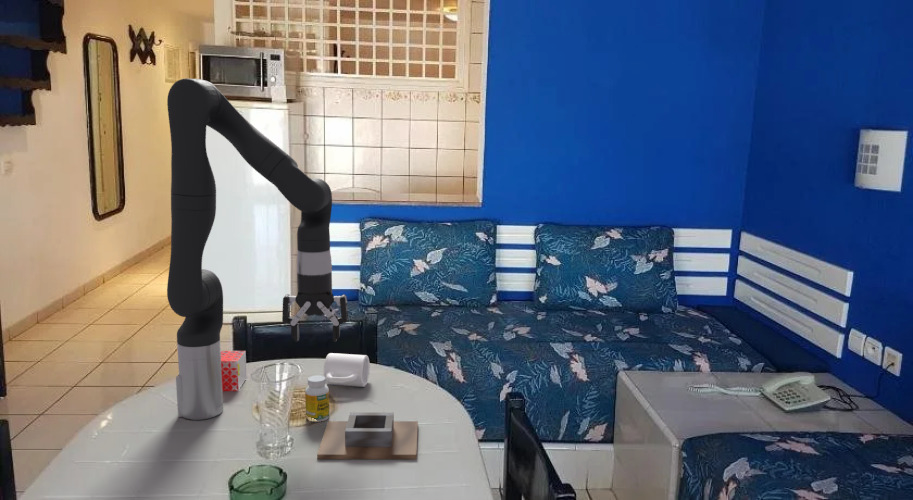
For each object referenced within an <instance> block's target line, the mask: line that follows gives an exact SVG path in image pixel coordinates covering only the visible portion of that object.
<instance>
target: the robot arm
mask: <svg viewBox="0 0 913 500" xmlns="http://www.w3.org/2000/svg"><path fill="white" fill-rule="evenodd" d="M166 101H167V103H166V105H167V114H168V123H169V133H170V143H171V153H170V154H171V155H170V156H171V158H170V159H171V160H170V165H171V166H170V168H171V170H170V172H171V175H170V176H171V177H170V179H171V183H170V212H171V213H170V214H171V225H170V226H171V227H170V228H171V230H170V259H169V269H168V277H167V285H166V290H167V291H166V295H167V296H166V297H167V301H168V303H169V306H170V308H171V310H172V311H173V312H174V313H175V314H176V315H178V316H179V317H182V318H184V320H183V322H182V324H181V325H180V327H179V328H178V329H177V332H176V344H177V345H176V348H177V362H178V363H177V364H178V375H177V376H176V377H175V386H176V387H175V389H176V401H177V404H176V406H177V417H178V418H184V419H186V420H187V419H188V420H194V421H195V420H199V421H201V420H207V419H211V418H214V417H217V416H219V415H220V414H222V412H223V411H224V397H223V396H224V395H223V392H224V391H222V369H221V351H222V350H221V349H222V348H221V330H222V328H223V324H224V292H223V286H222V282H221V281H220V279H219V277H218V276H217V275H216V273H214V272H213V271H211V270H208V269H206V268H205V269H204V268H203V266H202V265H203V257H204V256H203V255H204V250H205V247H206V244H207V241H208V239H209V236H210V234H211V231H212V228H213V226H214V223H215V218H216V214H217V213H216V212H217V185H216V180H215V176H214V173H213V169H212V166H211V164H210V160H209V157H208V151H207V126H208V128H210V129H212V130H214V131H215V132H217V133H219V135H221V136H222V137H224V138H225V139H226V140H227V141H228V142H229V143H230V144H231V146H233V147H234V148H235V150H236V151H237V152H238V153H239V154H240V156H241V157H242V158H243V160H245V162H246V163H247V164H248V165H249V166H250V167H251V168H253V169H254V170H255V172H257V173H258V174H259V175H261V176H262V177H263V178H264V179H265V180H267V181H268V182H269V183H271V184H272V185H274V187H276V188H277V189H278V191H279V193H280V194H282V195H283V197H284V198H285V200H287V201H288V202H289V203H290V204H291V206H293V207H294V208H296V209H297V210H299V211H300V213H301V214H300V216H301V217H300V224H299V225H298V227H297V233H296V240H297V241H296V244H297V251H296V253H297V254H296V282H297V283H296V285H297V294H296V295H291V294H289V293H287V294H285V295H284V296H283V297H282V312H281V313H282V314H281V315H282V317H281V318H282V319H281V320H282V322H283V323H284V324H289V325H290V334H291V335H290V337H291V339H293V340H294V342H299V340H300V324H299V323H298V322H299V321H300V319H301V318H302V317H303V315H304V314H305V315H307V316H308V317H309V316H314V315H315V316H319V317H320V316H323V315H325V317H326V318H327V319H329V320H330V321H331V324H333V325H332V343H334V342H335V343H337V340H339V338H340V336H341V325H342V324H346V323H347V322H348V319H349V311H348V310H349V309H348V298H347V295H346V294H342V295H334V294H333V275H332V273H333V271H332V269H333V265H332V255H331V235H330V225H331V218H332V207H333V193H332V190H331V186H330V185H329V184H328V182H326V181H325V180H324V179H321V178H317V177H313V178H310V177H309V176H308V175H307V174H306V173H305V172H304V171H302V170H301V169H300V168H299V165H298V163H297V162H296V160H295V159H294V158H292V157H291V155H289V154H288V153H287V152H285V151H284V150H283V148H281V147H280V146H278V145H277V144H276V143H274V142H273V141H272V140H271V139H270V138H268V137H267V136H265V134H264V133H262V132H261V131H260V130H258V128H256V127H255V126H254V125H253V124H251V123H250V122H249V121H248V120H247V119H246V118H245V117H244V115H242V114H241V113H240V112H239V111H238V110H237V108H236V107H234V105H233V104H232V103H231V101H229V100H228V98H227V97H225V95H224V94H223V93H222V92H221V91H220V90H219V88H217V86H215V84H214V83H212V82H210V81H208V80H204V79H201V78H200V79H199V78H181V79H179V80H176V81H175V82H174V83H173V84H172V85H171V87H170V89H169V91H168V94H167V100H166ZM294 302H295V303H296V304H297V305H298V307H299V310H298V311H297V313H296V314H295V315H294V316H291V306H293V304H294ZM334 302H335V303H336V305H337V306H338V307H340V316H339V315H337V313H336V311H335V310H334V308H333V307H332V305H334V304H333V303H334Z"/></svg>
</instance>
